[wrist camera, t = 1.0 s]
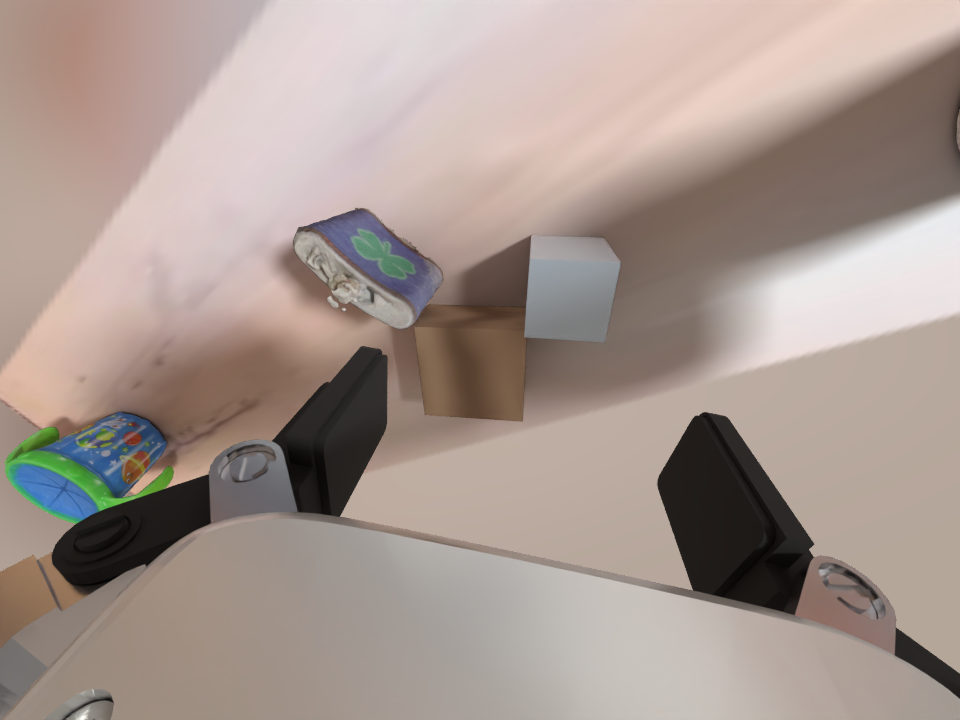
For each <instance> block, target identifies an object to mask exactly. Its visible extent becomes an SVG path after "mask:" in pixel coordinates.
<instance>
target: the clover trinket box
mask: <svg viewBox="0 0 960 720" xmlns="http://www.w3.org/2000/svg"><path fill="white" fill-rule="evenodd" d="M293 247H294V251H295V253H296V254H297V256H298V258H299V259H300V260H301V261H302V262H303V263H304V264H305V265H307V266H308V267H309V268H310V269H311V270H312V271H313V272H314V273H315V274H316V275H317V276H318V277H319V278H320V279H321V280H322V281H323V282H324V283H325V284H326V285H328V286H329V287H330V288H331V291H332V293H333V295H334V297H335V298H338V300H339V302H341V303H344V304H347V303H348V302H349V303H351V304H353V305H355V306H356V307H357V308H359V309H361V310H362V311H364V312H365V313H367V314H369V315H371V316H373V317H375V318H376V319H378V320H380V321H382V322H383V323H385V324H388V325H390V326H392V327H394V328H397V329H401V330H402V329H407V328H409V327H411V326H412V325H413V323H414V322H415V321H416V320H417V319H418V317H419V315H420V313H421V311H422V310H423V309H424V307H425V306H426V304H427V303H428V301H429V300H430V299H431V298H432V297H433V295H434V293H435V292H436V290H437V289H438V287H439V286H440V285H441V283H442V281H443V274H442V271H441V269H440V268H439V267H438V266H437V264H435V263H434V262H433V260H432V259H431V258H426V257H424V256H423V255H422V254H421V253H419V251H418V250H416V247H414V246H413V245H412V244H411V242H408V241H407V240H406V239H404V238H403V239H402V238H400V237H397V236H396V235H395V234H394V230H391V229H389V228H387V227H386V226H384V224H383V222H382V220H380V219H378V218H377V217H376V215H374V214H373V213H372V212H371V211H370V210H369V209H364V208H360V209H358V208H355V210H353V211H350V212H347V213H344V214H341V215H338V216H334V217H331V218H329V219H327V220H323V221H319V222H316V223H313V224H310V225H308V226H304V227H299V228H298V229H297V232H296V234H295V237H294V240H293ZM327 300H328V302H329V303H330V304H331V306H332V307H334V308H339V306H338V303H337V302H336V301H334V300H333V299H332V297H331V296H329V297H328V298H327ZM341 310H342V311H346V308H342V309H341Z"/></svg>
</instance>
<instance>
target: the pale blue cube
mask: <svg viewBox="0 0 960 720" xmlns="http://www.w3.org/2000/svg"><path fill="white" fill-rule="evenodd" d="M620 265H621V262H620V260H619V259H618V257H617V256H616V255H615V253H614V252H613V250H612V249H611V247H610V246H609V244H608V243H607V242H606V240H605V239H604V237H576V236H545V235H531V246H530V260H529V274H528V287H527V301H526V316H525V331H524V337H526V338H542V339H557V340H573V341H588V342H604V343H605V339H606V334H607V329H608V325H609V320H610V315H611V310H612V305H613V300H614V295H615V290H616V285H617V280H618V275H619V270H620Z"/></svg>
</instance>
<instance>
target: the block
mask: <svg viewBox="0 0 960 720" xmlns="http://www.w3.org/2000/svg"><path fill="white" fill-rule="evenodd" d="M525 316H526V307H496V306H461V305H428V306H427V308H426V309H425V311H424V312H423V314H422V315H421V317H420V318H419V320H418V321H417V323H416V324H415V326H414V332H415V340H416V348H417V356H418V364H419V372H420V379H421V387H422V395H423V403H424V411H425V415H435V416H450V417H465V418H479V419H494V420H508V421H523V402H524V382H525V360H526V339H527V338H526V337H524V331H525Z"/></svg>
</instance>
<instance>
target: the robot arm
mask: <svg viewBox="0 0 960 720" xmlns="http://www.w3.org/2000/svg"><path fill="white" fill-rule="evenodd" d="M957 144H958V147H959V151H960V110H959V114H958V119H957ZM386 425H387V356H386V355H382V351H381V350H380V349H375V348H370V347H365V346H362V347H360V348H359V350H358V351H357V352H356V353H355V354H354V355H353V357H352V358H351V359H350V360H349V361H348V362H347V364H346V365H345V366H344V367H343V368H342V369H341V371H340V372H339V373H338V374H337V375H336V376H335V377H334V379H333V380H332V381H331V382H330V383H329V382H326V383H324V384H323V385H321V386H320V388H319V389H318V390H317V391H316V392H315V393H314V394H313V395H312V397H311V398H310V399H309V400H308V401H307V402H306V403H305V404H304V406H303V407H302V408H301V409H300V410H299V411H298V412H297V413H296V415H295V416H294V417H293V418H292V419H291V420H290V421H289V422H288V424H287V425H286V426H285V427H284V428H283V429H282V430H281V431H280V433H279V434H278V435H277V436H276V437H275V438H274V439H273V441H272V442H271V441H268V440H250V441H244V442H241V443H239V444H236V445H233V446H231V447H230V448H228V449H226V450H224V451H223V452H222V453H221V454H220V455H218V456H217V457H216V458H215V460H214V461H213V463H212V464H211V466H210V471H209V474H208V475H205V476H202V477H199V478H196V479H193V480H190V481H187V482H184V483H181V484H178V485H175V486H172V487H169V488H166V489H163V490H160V491H157V492H154V493H151V494H148V495H145V496H142V497H139V498H136V499H133V500H130V501H127V502H124V503H121V504H118V505H115V506H112V507H109V508H106V509H104V510H101V511H99V512H97V513H94V514H92V515H90V516H88V517H87V518H85V519H83V520H82V521H80V522H78V523H77V524H76V525H74V526H73V527H72V528H71V529H70V530H69V531H67V532H66V533H65V534H64V535H63V536H62V538H61V539H60V540H59V541H58V542H57V544H56V545H55V548H54V550H53V552H51V553H49V554H47V555H45V556H44V557H42V558H40V559H37V558H36V557H35V556H34V555H32V556H30V557H28V558H26V559H24V560H22V561H20V562H18V563H17V564H14V565H12V566H10V567H8V568H6V569H5V570H3V571H1V572H0V720H960V674H959V673H958V672H957V671H955V670H954V669H952V668H951V667H950V666H948V665H947V664H946V663H944V662H943V661H942V660H940V659H938V658H937V657H936V656H935V655H933V654H932V653H930V652H929V651H928V650H926V649H925V648H924V647H922V646H921V645H919V644H918V643H917V642H915V641H914V640H912V639H911V638H910V637H908V636H907V635H905V634H904V633H903V632H902V631H900V630H899V629H897V628H896V616H895V612H894V609H893V607H892V605H891V604H890V602H889V600H888V599H887V598H886V596H885V595H884V594H883V593H882V591H881V590H880V589H879V588H878V587H877V586H876V585H875V584H874V583H873V582H872V581H871V580H869V579H868V578H867V577H866V576H865V575H863V574H862V573H860V572H859V571H858V570H856V569H855V568H853V567H852V566H850V565H848V564H846V563H844V562H842V561H840V560H838V559H835V558H832V557H828V556H817V557H813V555H812V554H811V552H810V551H809V549H810V548H811V547H812V546H813V545H814V543H813V541H812V540H811V539H810V537H809V536H808V534H807V533H806V531H805V530H804V528H803V527H802V525H801V524H800V522H799V521H798V520H797V518H796V517H795V515H794V514H793V512H792V511H791V509H790V508H789V506H788V505H787V503H786V502H785V501H784V499H783V498H782V496H781V495H780V493H779V492H778V490H777V489H776V488H775V486H774V484H773V483H772V481H771V480H770V479H769V477H768V476H767V474H766V473H765V471H764V470H763V469H762V467H761V465H760V464H759V462H758V461H757V459H756V458H755V457H754V455H753V454H752V452H751V451H750V449H749V448H748V447H747V445H746V444H745V442H744V441H743V439H742V438H741V436H740V435H739V433H738V432H737V430H736V429H735V427H734V426H733V424H732V423H731V422H730V420H729V419H728V418H727V417H726V416H721V415H717V414H712V413H707V412H704V413H702V414H700V415H699V416H695V417H694V418H693V419H692V421H691V422H690V424H689V426H688V427H687V429H686V431H685V433H684V434H683V436H682V438H681V440H680V441H679V443H678V445H677V446H676V448H675V450H674V451H673V453H672V455H671V456H670V458H669V460H668V462H667V463H666V465H665V467H664V468H663V470H662V472H661V474H660V475H659V478H658V490H659V493H660V496H661V499H662V501H663V504H664V507H665V510H666V513H667V516H668V519H669V521H670V525H671V528H672V531H673V533H674V536H675V539H676V542H677V545H678V548H679V551H680V554H681V557H682V560H683V562H684V565H685V568H686V571H687V574H688V577H689V580H690V583H691V585H692V589H693V591H692V590H687V589H683V588H678V587H674V586H669V585H664V584H660V583H656V582H651V581H647V580H642V579H637V578H633V577H628V576H624V575H619V574H615V573H610V572H605V571H601V570H596V569H592V568H586V567H582V566H577V565H573V564H568V563H563V562H559V561H554V560H549V559H545V558H540V557H536V556H531V555H526V554H521V553H517V552H512V551H507V550H503V549H498V548H493V547H488V546H483V545H479V544H474V543H469V542H465V541H460V540H455V539H450V538H445V537H440V536H436V535H431V534H426V533H421V532H416V531H411V530H407V529H402V528H396V527H392V526H386V525H380V524H376V523H370V522H366V521H360V520H355V519H350V518H344V517H340V515H341V513H342V512H343V510H344V508H345V506H346V504H347V502H348V500H349V498H350V496H351V495H352V493H353V491H354V489H355V487H356V485H357V483H358V481H359V479H360V478H361V476H362V474H363V472H364V470H365V468H366V466H367V464H368V462H369V460H370V459H371V457H372V455H373V453H374V451H375V449H376V447H377V445H378V443H379V442H380V440H381V438H382V436H383V434H384V432H385V429H386Z"/></svg>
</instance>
